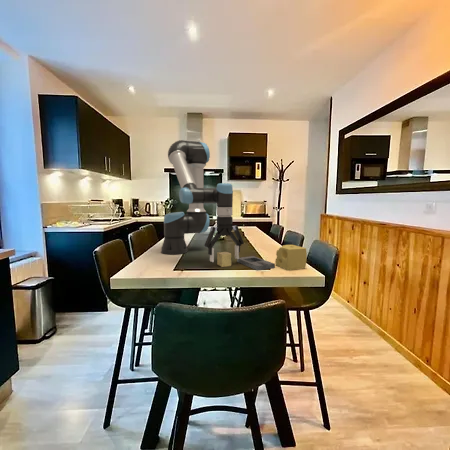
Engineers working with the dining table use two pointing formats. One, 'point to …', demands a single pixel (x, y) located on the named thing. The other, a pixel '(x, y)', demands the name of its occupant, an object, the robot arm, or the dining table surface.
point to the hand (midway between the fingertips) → (224, 260)
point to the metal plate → (256, 263)
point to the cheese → (291, 257)
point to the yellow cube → (224, 259)
